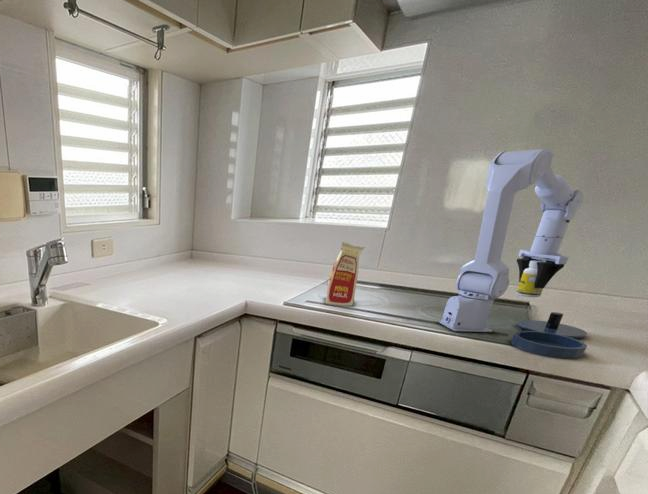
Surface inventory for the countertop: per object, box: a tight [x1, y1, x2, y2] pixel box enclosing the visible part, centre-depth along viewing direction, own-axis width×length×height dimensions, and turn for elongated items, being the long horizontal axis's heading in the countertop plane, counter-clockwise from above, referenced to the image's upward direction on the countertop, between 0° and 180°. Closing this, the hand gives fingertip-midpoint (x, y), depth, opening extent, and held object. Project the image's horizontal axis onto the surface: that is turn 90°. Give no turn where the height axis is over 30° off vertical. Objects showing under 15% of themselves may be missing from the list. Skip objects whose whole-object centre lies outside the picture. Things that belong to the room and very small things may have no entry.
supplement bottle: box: [515, 260, 546, 298], centre depth 115 cm, size 5×5×10 cm
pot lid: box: [517, 311, 588, 339], centre depth 107 cm, size 14×14×5 cm
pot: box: [511, 330, 588, 360], centre depth 96 cm, size 13×13×2 cm
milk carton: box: [325, 241, 366, 306], centre depth 134 cm, size 9×9×20 cm
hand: (531, 285), depth 116 cm, fingers closed on supplement bottle, 5 cm apart
